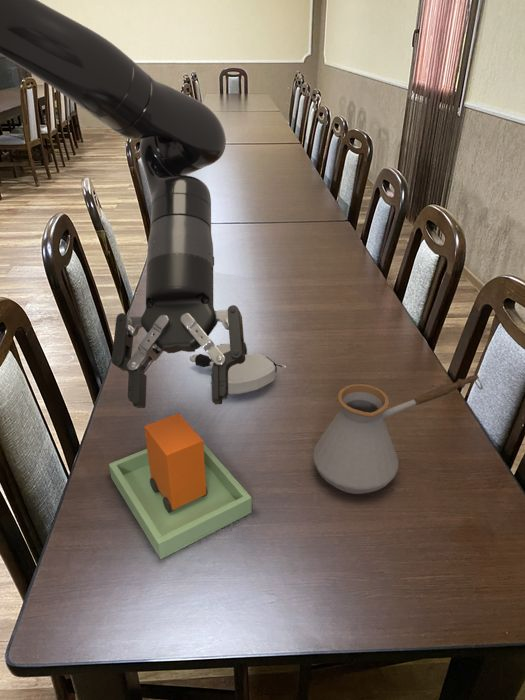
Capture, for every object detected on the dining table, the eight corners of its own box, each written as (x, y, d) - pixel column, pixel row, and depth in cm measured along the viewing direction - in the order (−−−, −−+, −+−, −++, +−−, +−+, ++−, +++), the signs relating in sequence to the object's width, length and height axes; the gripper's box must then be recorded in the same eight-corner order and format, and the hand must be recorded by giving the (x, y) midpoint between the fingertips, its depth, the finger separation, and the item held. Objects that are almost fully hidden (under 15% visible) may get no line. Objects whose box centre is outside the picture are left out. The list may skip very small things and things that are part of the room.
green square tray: (251, 512, 68) (251, 497, 67) (160, 559, 62) (158, 544, 61) (193, 444, 79) (192, 430, 78) (111, 478, 73) (108, 463, 72)
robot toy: (186, 371, 97) (224, 410, 86) (183, 349, 95) (223, 385, 84) (245, 353, 103) (288, 387, 91) (244, 332, 101) (288, 364, 89)
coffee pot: (322, 509, 69) (331, 416, 61) (303, 449, 78) (309, 362, 71) (479, 492, 71) (506, 401, 64) (441, 436, 81) (462, 351, 73)
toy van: (209, 499, 69) (205, 439, 64) (170, 517, 67) (164, 456, 62) (185, 468, 74) (180, 410, 69) (148, 484, 71) (140, 425, 66)
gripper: (107, 256, 59) (98, 402, 54) (236, 244, 57) (238, 394, 52) (132, 283, 66) (126, 414, 61) (246, 274, 64) (249, 408, 60)
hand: (178, 405), depth 57 cm, fingers open, 8 cm apart
